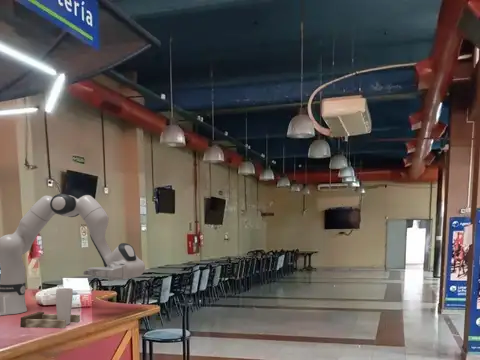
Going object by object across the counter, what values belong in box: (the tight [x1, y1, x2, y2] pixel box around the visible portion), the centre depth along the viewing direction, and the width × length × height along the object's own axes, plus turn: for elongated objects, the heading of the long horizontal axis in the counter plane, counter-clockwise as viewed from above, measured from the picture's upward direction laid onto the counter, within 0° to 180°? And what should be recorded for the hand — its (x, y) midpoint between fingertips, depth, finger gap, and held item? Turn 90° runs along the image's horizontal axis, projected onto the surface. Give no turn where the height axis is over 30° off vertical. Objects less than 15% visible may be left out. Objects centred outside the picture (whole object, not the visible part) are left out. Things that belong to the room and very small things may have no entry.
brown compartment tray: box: [19, 311, 81, 329], centre depth 197 cm, size 20×13×4 cm, turn 81°
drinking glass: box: [55, 287, 74, 326], centre depth 196 cm, size 7×7×15 cm
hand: (89, 273), depth 207 cm, fingers open, 8 cm apart
